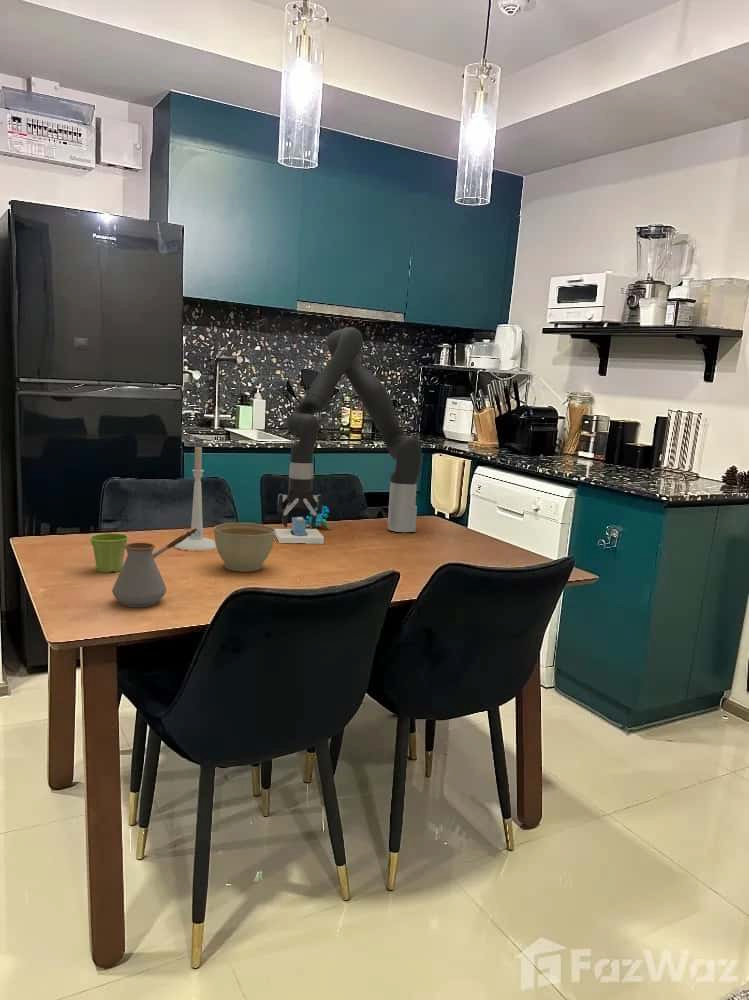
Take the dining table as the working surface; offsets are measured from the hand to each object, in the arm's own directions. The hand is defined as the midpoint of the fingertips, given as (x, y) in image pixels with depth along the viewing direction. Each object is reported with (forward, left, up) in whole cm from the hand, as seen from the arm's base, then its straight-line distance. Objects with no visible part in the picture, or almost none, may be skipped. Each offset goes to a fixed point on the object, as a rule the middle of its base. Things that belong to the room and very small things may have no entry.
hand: (298, 526), depth 236 cm
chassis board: (0, +1, -4) cm, 4 cm away
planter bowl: (+20, +36, -4) cm, 41 cm away
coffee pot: (+41, +62, -4) cm, 74 cm away
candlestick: (+32, +11, -4) cm, 34 cm away
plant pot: (+54, +37, -4) cm, 66 cm away
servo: (0, 0, -4) cm, 4 cm away
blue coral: (-9, -18, -4) cm, 21 cm away
